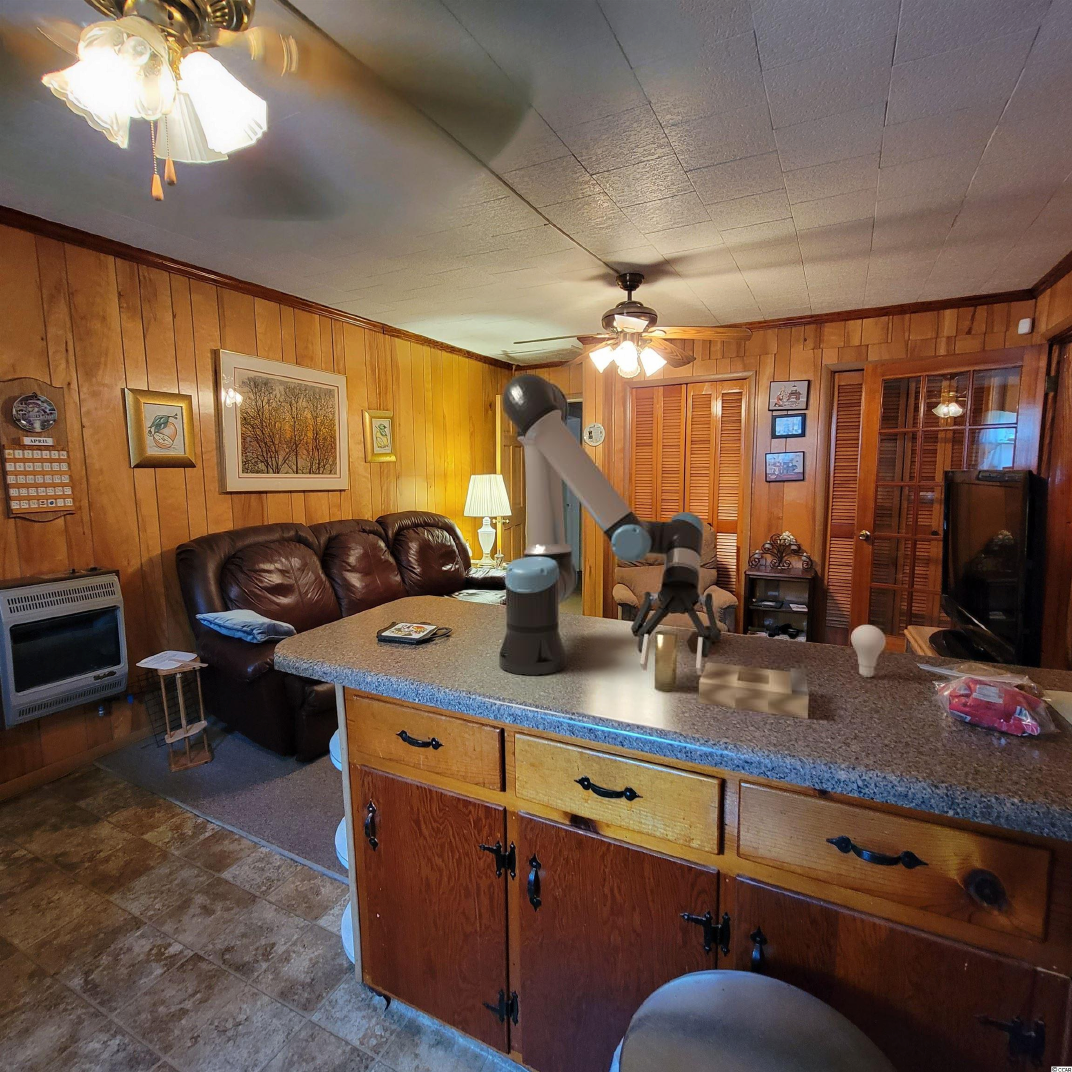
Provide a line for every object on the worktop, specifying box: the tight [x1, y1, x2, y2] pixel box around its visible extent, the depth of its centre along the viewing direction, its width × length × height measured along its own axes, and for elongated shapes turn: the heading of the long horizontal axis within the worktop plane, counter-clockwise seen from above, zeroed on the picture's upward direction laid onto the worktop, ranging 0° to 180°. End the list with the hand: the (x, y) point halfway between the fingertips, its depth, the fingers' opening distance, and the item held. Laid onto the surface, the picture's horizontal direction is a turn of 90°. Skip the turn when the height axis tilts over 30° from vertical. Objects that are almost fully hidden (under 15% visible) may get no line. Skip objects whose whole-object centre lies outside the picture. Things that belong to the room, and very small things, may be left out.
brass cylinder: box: [654, 630, 678, 693], centre depth 108 cm, size 4×4×11 cm
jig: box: [698, 661, 809, 720], centre depth 103 cm, size 18×12×5 cm, turn 66°
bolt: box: [686, 625, 722, 654], centre depth 136 cm, size 6×5×15 cm
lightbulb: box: [850, 624, 887, 678], centre depth 113 cm, size 6×6×11 cm
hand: (670, 669), depth 105 cm, fingers open, 10 cm apart
